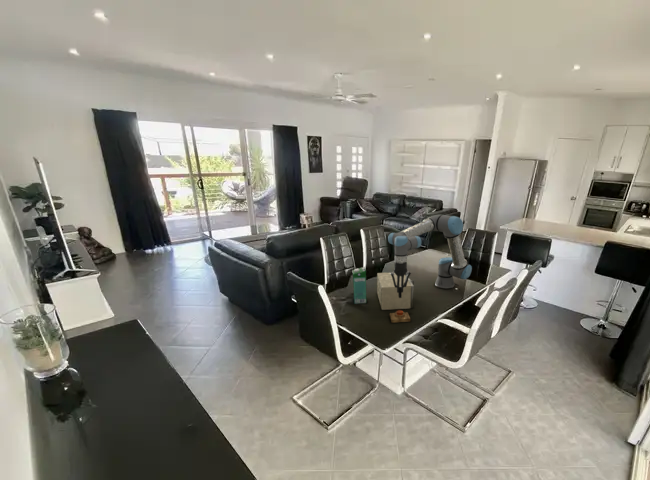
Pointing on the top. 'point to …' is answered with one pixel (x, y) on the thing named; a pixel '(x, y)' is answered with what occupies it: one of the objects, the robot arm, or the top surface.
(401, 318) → the tan button base
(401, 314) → the button
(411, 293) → the door
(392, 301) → the beige box
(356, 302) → the milk carton
